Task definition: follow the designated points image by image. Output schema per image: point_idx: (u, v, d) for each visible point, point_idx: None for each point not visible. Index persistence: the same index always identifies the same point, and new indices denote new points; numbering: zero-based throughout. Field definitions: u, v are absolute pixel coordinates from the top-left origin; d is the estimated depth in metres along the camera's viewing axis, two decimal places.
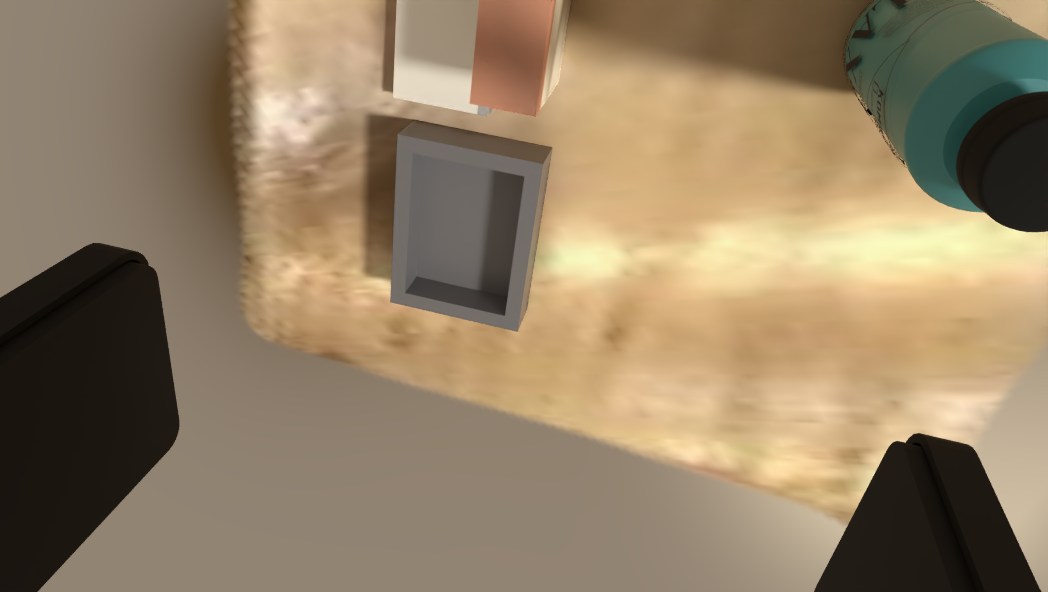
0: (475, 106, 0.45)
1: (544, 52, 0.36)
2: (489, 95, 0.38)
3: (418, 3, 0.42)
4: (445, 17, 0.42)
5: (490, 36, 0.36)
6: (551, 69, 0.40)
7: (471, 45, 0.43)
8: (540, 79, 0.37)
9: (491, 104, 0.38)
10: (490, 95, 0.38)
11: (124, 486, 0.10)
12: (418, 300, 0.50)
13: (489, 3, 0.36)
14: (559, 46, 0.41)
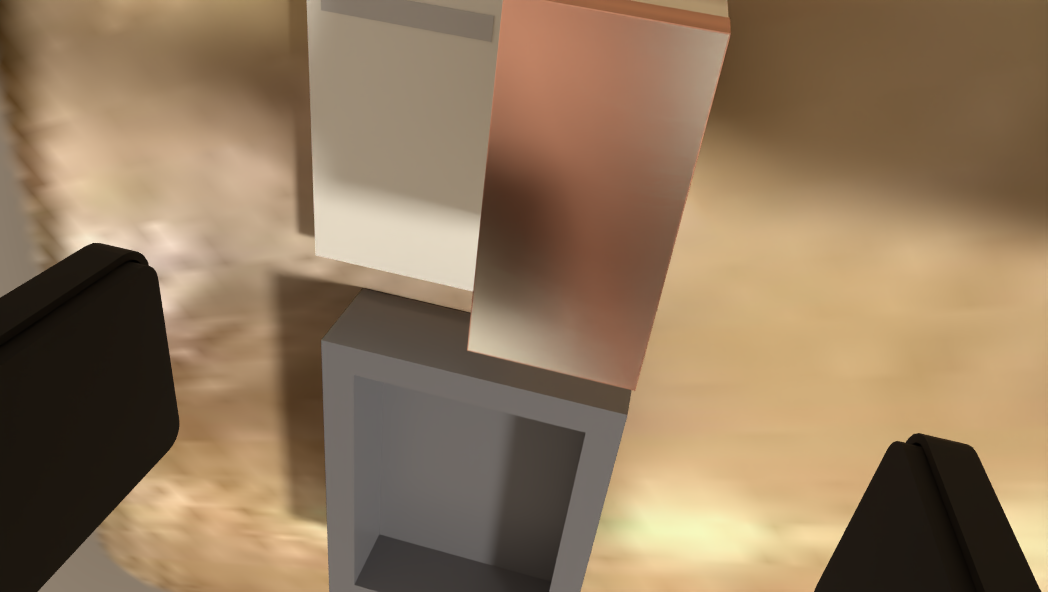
0: None
1: (671, 250, 0.13)
2: (517, 336, 0.15)
3: (356, 75, 0.19)
4: (416, 106, 0.19)
5: (522, 205, 0.13)
6: None
7: (473, 164, 0.20)
8: (654, 311, 0.14)
9: (522, 356, 0.15)
10: (520, 337, 0.15)
11: (124, 486, 0.10)
12: None
13: (519, 122, 0.13)
14: None
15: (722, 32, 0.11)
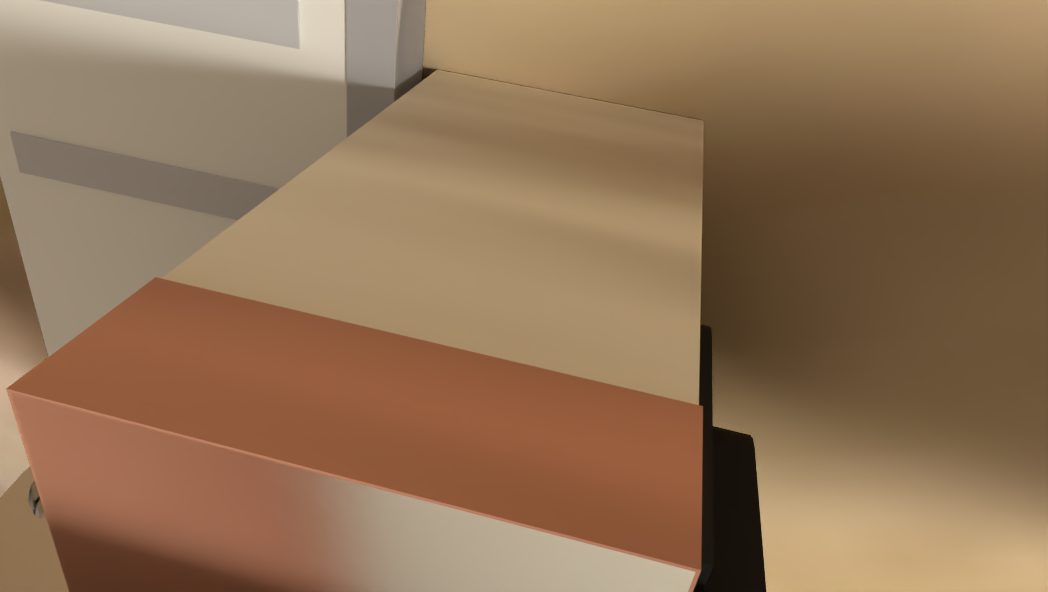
0: None
1: None
2: None
3: (97, 273, 0.11)
4: None
5: None
6: None
7: None
8: None
9: None
10: None
11: None
12: None
13: None
14: None
15: (673, 562, 0.03)
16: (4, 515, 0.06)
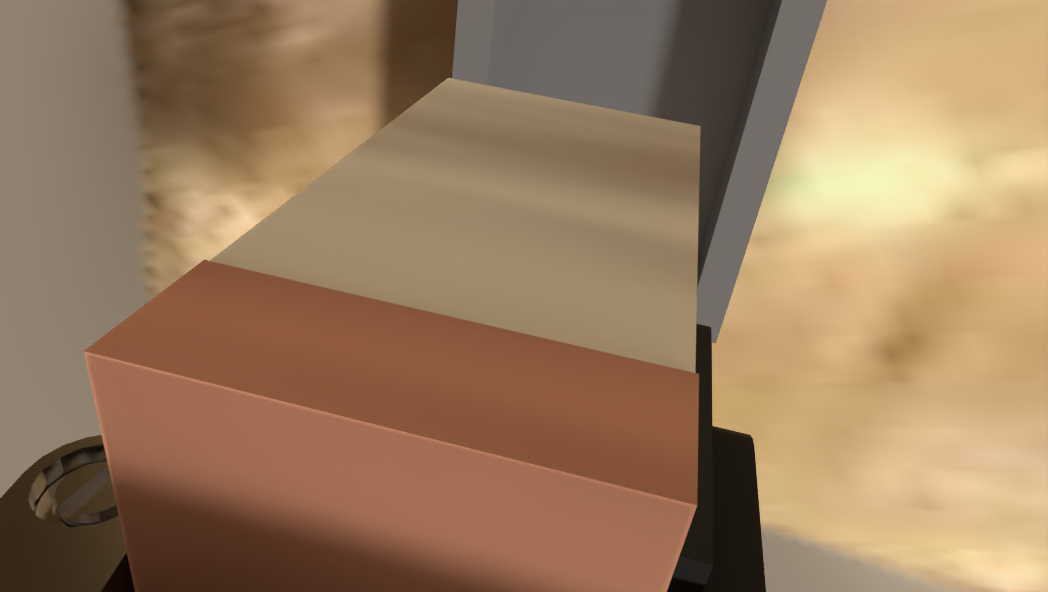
0: None
1: None
2: None
3: None
4: None
5: None
6: None
7: None
8: None
9: None
10: None
11: None
12: None
13: None
14: None
15: (673, 499, 0.04)
16: (4, 515, 0.06)
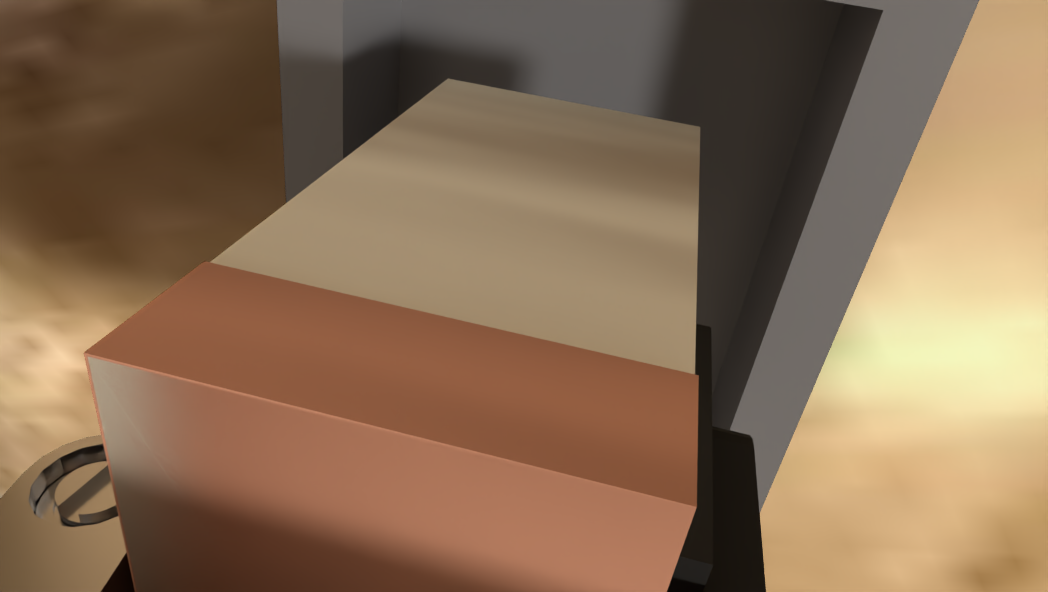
0: None
1: None
2: None
3: None
4: None
5: None
6: None
7: None
8: None
9: None
10: None
11: None
12: None
13: None
14: None
15: (672, 500, 0.04)
16: (5, 515, 0.06)
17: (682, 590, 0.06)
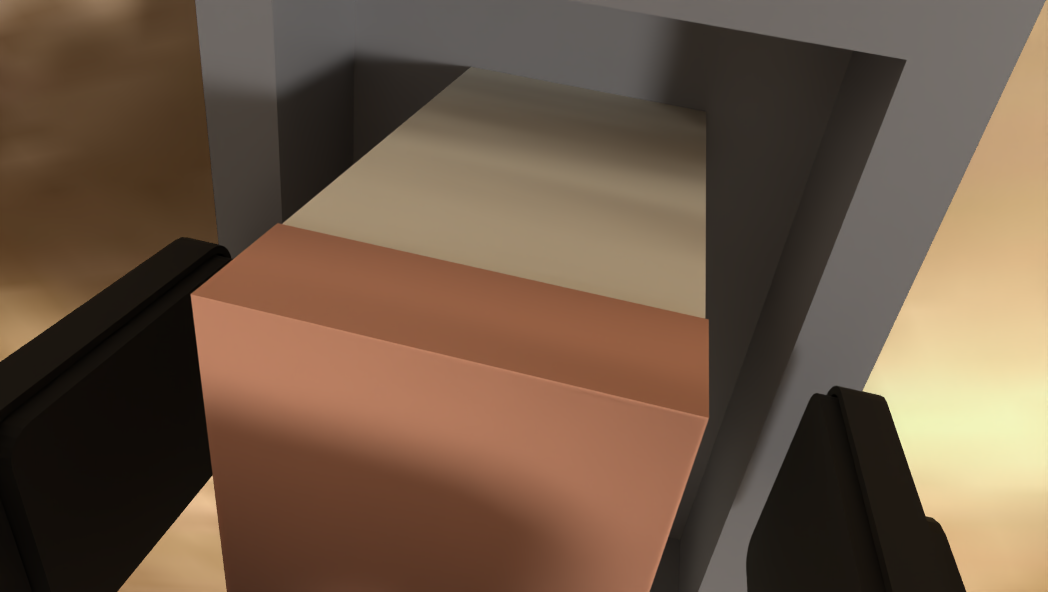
0: None
1: None
2: None
3: None
4: None
5: None
6: None
7: None
8: None
9: None
10: None
11: (206, 471, 0.10)
12: None
13: (274, 515, 0.06)
14: None
15: (689, 413, 0.05)
16: None
17: None
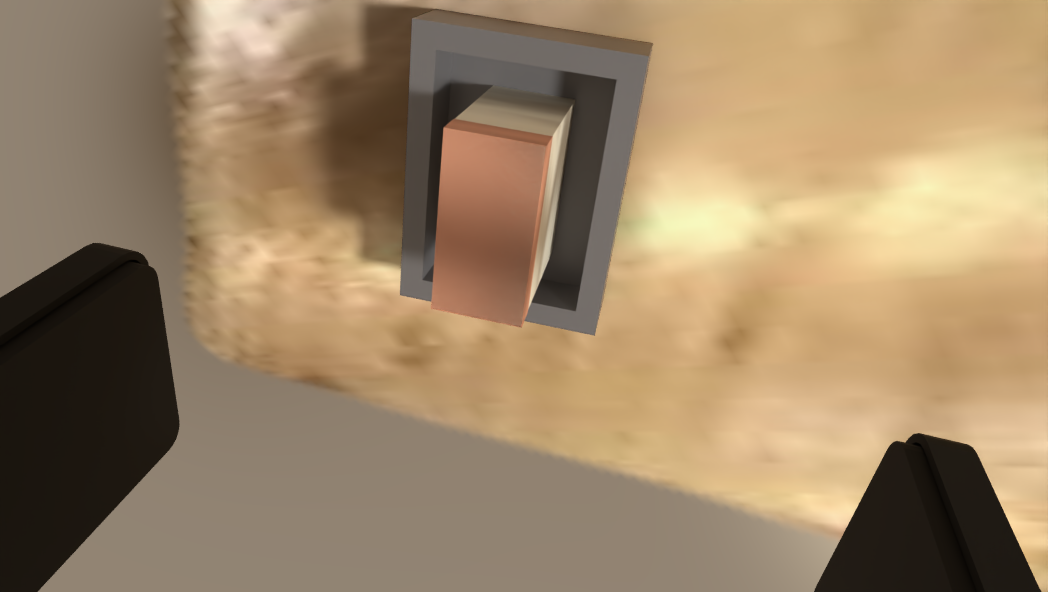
0: None
1: (532, 249, 0.26)
2: (457, 299, 0.28)
3: None
4: None
5: (456, 227, 0.26)
6: (542, 252, 0.30)
7: None
8: (527, 282, 0.27)
9: (460, 310, 0.28)
10: (459, 299, 0.28)
11: (124, 486, 0.10)
12: None
13: (453, 186, 0.26)
14: (552, 217, 0.31)
15: (543, 145, 0.24)
16: None
17: None
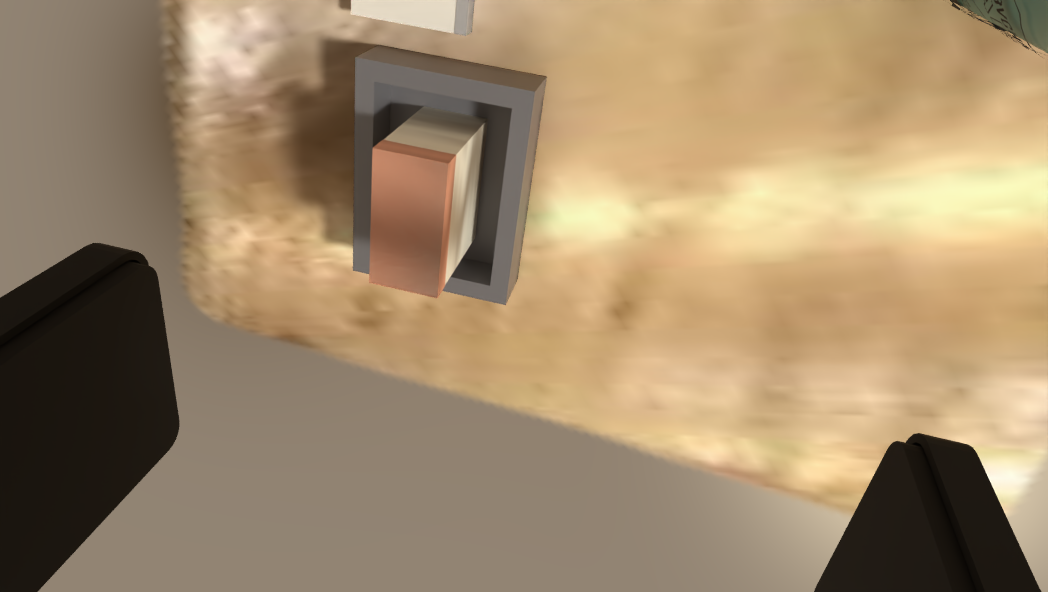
0: (451, 23, 0.36)
1: (442, 239, 0.35)
2: (388, 275, 0.36)
3: None
4: None
5: (385, 222, 0.35)
6: (458, 240, 0.38)
7: None
8: (439, 263, 0.35)
9: (391, 284, 0.36)
10: (390, 276, 0.36)
11: (124, 486, 0.10)
12: None
13: (382, 191, 0.34)
14: (469, 211, 0.39)
15: (445, 163, 0.33)
16: None
17: None
